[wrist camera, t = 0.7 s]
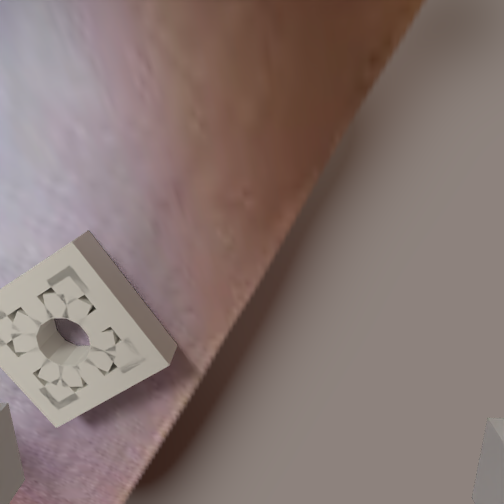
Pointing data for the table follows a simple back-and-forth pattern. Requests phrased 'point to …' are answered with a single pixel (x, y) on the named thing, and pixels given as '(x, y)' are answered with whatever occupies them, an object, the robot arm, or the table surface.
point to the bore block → (92, 322)
